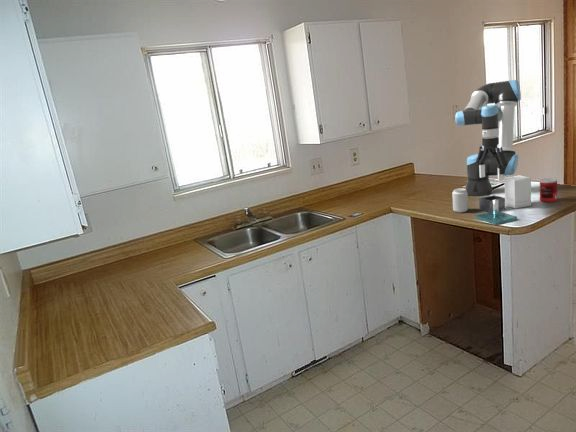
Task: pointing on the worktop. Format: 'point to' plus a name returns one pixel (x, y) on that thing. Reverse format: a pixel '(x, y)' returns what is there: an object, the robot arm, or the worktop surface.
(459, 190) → the can
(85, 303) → the worktop surface
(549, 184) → the canned food
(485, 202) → the grey open box
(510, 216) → the plate
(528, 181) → the supplement box
